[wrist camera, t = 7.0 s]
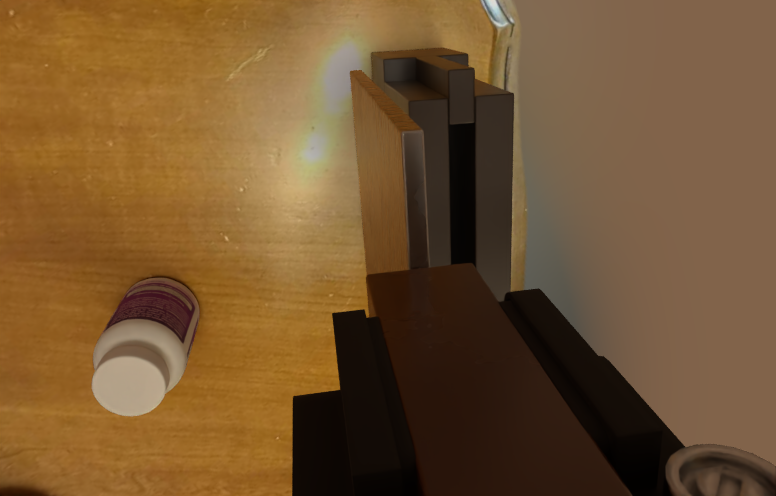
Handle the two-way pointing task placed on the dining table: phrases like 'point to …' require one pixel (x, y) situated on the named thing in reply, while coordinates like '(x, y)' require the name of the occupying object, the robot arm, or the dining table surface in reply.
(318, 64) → the dining table surface
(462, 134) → the knife block
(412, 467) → the robot arm
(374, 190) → the kitchen knife
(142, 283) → the pill bottle
